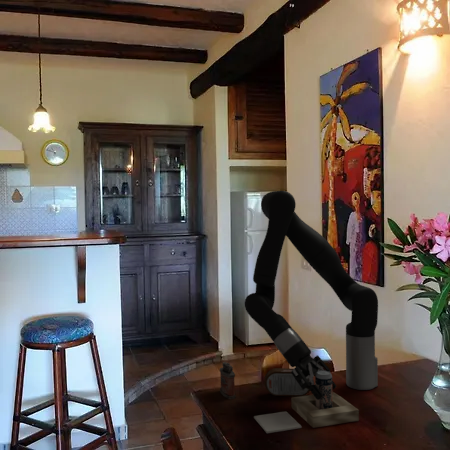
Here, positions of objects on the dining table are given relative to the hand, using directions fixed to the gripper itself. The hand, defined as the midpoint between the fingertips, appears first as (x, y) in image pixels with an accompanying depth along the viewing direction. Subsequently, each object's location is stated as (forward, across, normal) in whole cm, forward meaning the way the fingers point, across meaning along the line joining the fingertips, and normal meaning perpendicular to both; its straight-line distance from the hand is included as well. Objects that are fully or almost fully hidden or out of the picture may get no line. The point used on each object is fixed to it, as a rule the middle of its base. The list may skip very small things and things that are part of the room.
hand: (327, 393), depth 140 cm
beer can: (+4, 0, +5) cm, 7 cm away
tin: (-7, +6, +16) cm, 19 cm away
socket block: (+4, 0, +5) cm, 6 cm away
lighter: (-18, -4, +28) cm, 34 cm away
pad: (-2, -13, +11) cm, 17 cm away
